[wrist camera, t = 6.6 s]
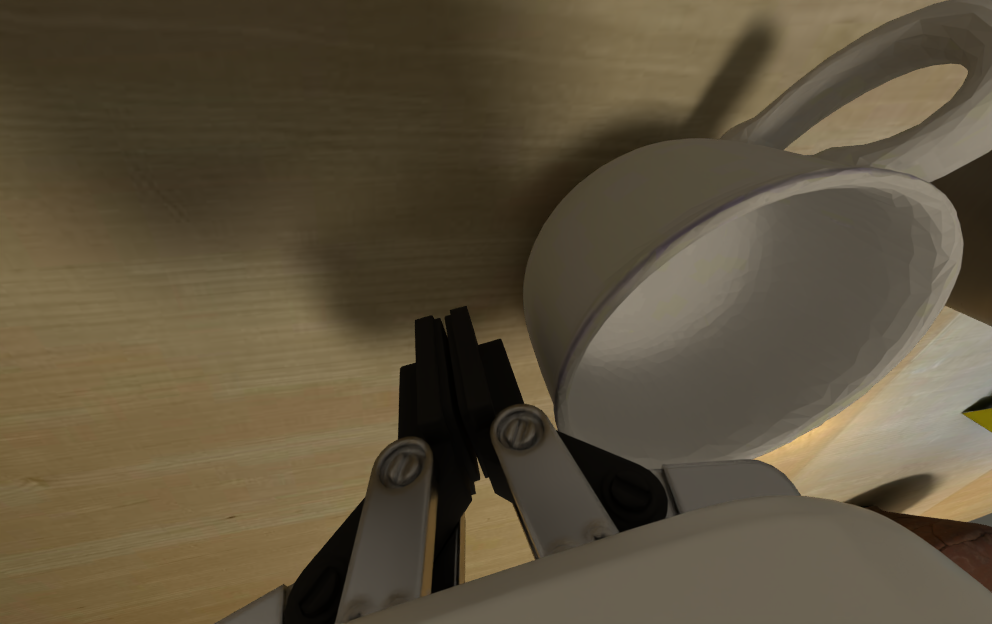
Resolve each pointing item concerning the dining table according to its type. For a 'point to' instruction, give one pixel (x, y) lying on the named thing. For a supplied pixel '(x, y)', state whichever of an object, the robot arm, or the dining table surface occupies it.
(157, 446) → the dining table surface
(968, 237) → the milk pan
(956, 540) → the pottery vessel
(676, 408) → the teacup
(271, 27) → the dining table surface
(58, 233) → the dining table surface
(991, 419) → the decorative book
